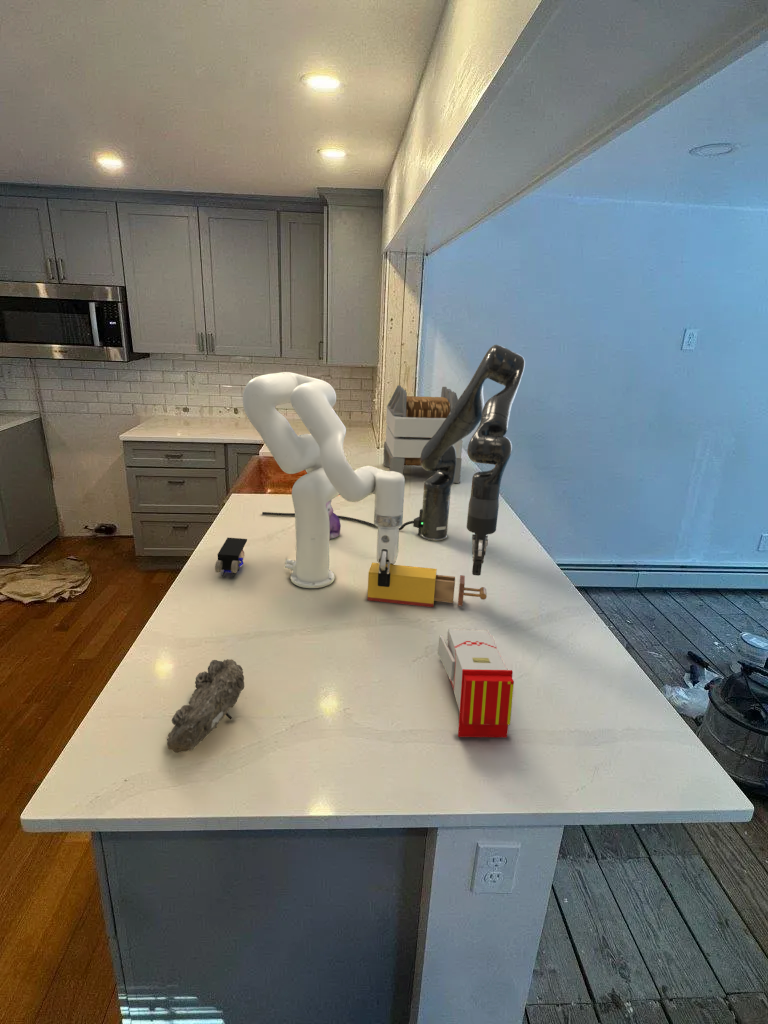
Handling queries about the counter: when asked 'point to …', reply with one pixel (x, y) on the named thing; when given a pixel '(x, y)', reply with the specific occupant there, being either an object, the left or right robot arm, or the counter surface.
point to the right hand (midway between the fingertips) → (476, 574)
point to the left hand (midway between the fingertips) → (385, 579)
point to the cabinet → (403, 585)
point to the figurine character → (230, 556)
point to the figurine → (333, 521)
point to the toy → (478, 682)
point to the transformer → (416, 428)
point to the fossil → (206, 705)
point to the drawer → (446, 589)
